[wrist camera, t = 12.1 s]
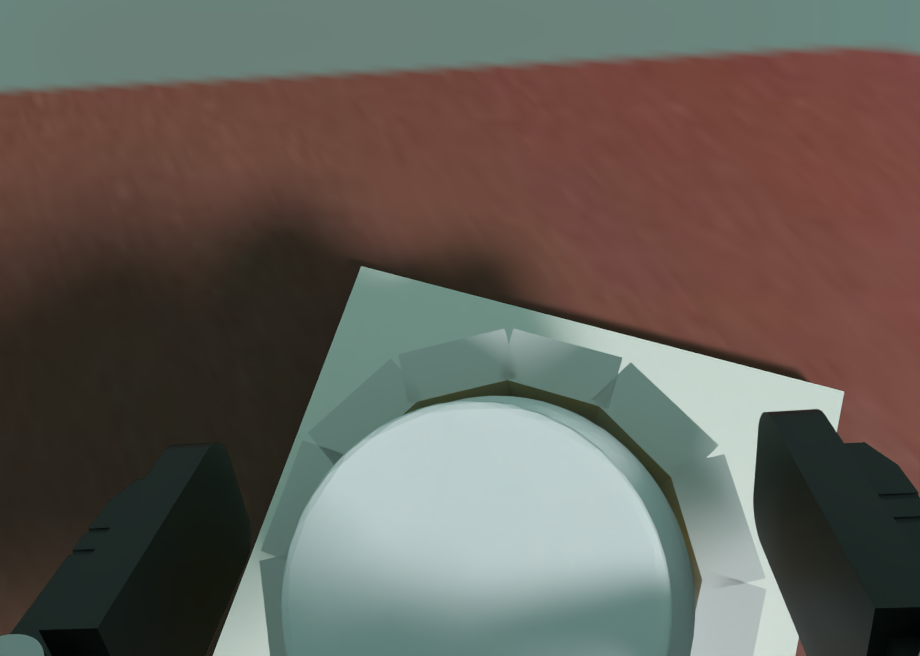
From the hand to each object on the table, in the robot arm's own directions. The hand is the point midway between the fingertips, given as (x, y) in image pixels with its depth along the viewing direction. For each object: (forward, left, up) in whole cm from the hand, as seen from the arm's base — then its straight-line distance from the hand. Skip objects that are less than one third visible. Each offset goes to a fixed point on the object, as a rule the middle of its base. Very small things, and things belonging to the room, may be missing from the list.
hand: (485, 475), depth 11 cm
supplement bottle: (+1, -1, -6) cm, 7 cm away
